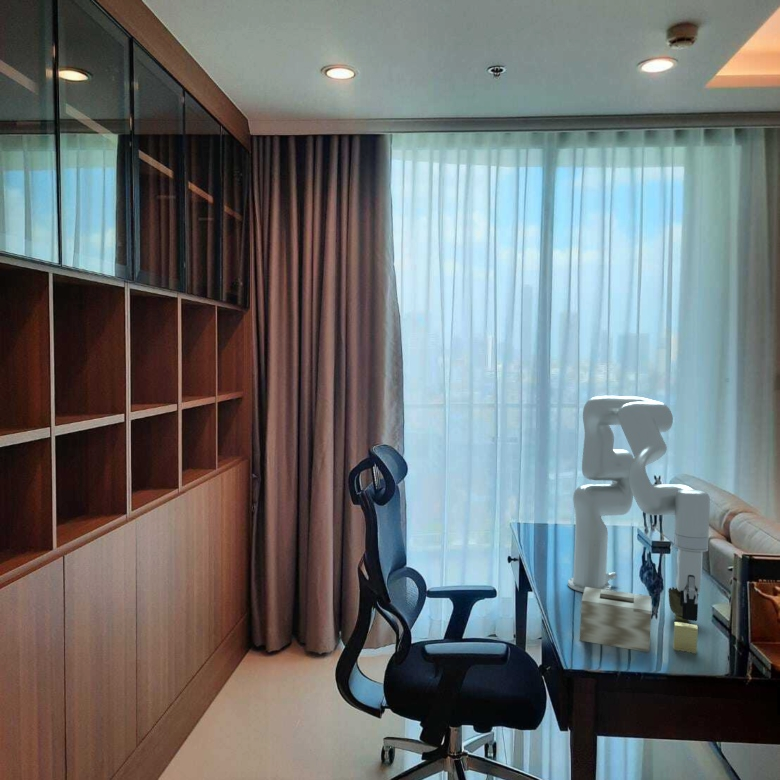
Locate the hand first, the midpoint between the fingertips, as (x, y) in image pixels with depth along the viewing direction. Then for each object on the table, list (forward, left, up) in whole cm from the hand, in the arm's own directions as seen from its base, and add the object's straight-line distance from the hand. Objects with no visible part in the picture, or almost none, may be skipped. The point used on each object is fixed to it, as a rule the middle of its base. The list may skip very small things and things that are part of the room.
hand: (688, 613), depth 162 cm
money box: (+10, -13, -9) cm, 19 cm away
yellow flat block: (0, -1, -9) cm, 9 cm away
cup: (-16, -14, -9) cm, 23 cm away
